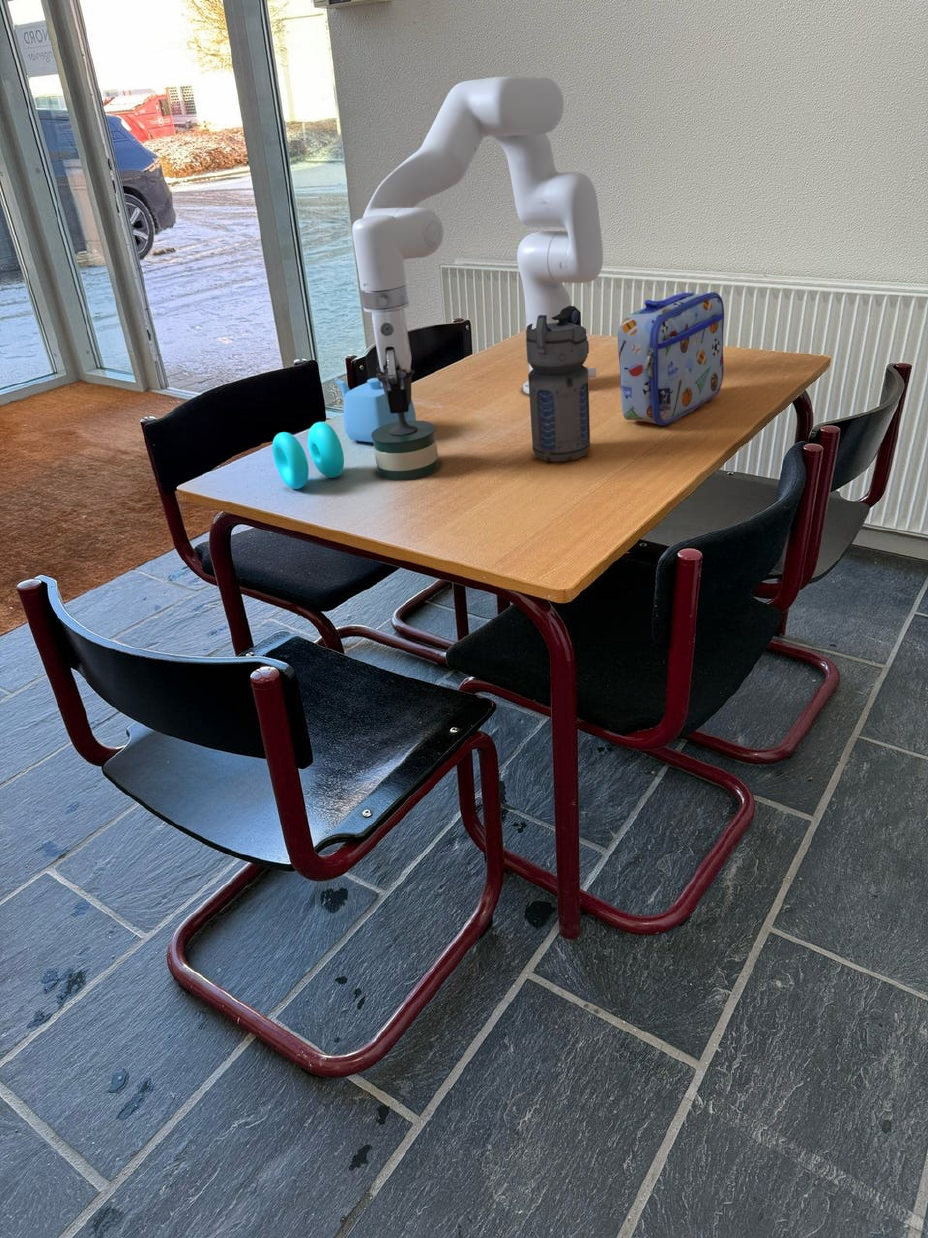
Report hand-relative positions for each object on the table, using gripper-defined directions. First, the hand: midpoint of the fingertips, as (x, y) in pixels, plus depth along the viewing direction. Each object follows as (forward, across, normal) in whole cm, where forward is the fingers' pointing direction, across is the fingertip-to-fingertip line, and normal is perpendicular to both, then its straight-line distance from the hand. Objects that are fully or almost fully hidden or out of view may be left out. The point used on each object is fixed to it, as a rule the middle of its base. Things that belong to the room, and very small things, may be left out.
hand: (400, 406), depth 157 cm
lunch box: (+12, +16, -51) cm, 54 cm away
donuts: (+12, -2, +17) cm, 21 cm away
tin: (+11, 0, 0) cm, 11 cm away
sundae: (+5, 0, 0) cm, 5 cm away
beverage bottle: (+12, 0, -28) cm, 30 cm away
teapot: (+12, +20, +7) cm, 24 cm away
